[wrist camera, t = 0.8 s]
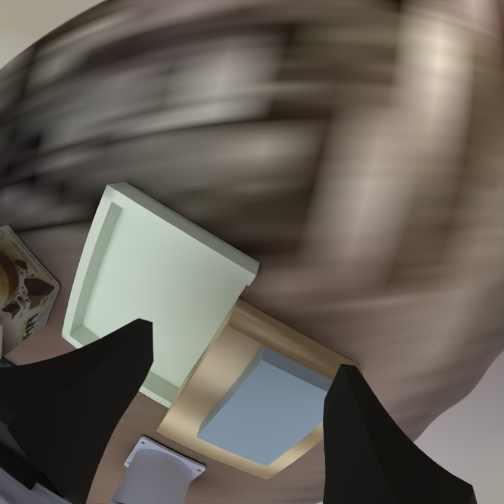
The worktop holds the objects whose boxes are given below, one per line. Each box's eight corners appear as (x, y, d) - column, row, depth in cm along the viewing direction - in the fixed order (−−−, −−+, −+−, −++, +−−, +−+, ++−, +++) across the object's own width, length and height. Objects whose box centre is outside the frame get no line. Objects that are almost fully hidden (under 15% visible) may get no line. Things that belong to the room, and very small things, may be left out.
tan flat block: (270, 448, 25) (267, 479, 21) (169, 401, 25) (155, 431, 21) (359, 364, 22) (369, 397, 18) (237, 297, 21) (227, 325, 17)
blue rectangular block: (268, 452, 20) (267, 466, 19) (200, 423, 20) (196, 437, 19) (342, 384, 18) (345, 400, 16) (264, 345, 17) (262, 359, 16)
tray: (177, 389, 24) (168, 408, 22) (76, 323, 24) (61, 335, 21) (259, 262, 20) (256, 275, 18) (125, 182, 20) (107, 184, 17)
